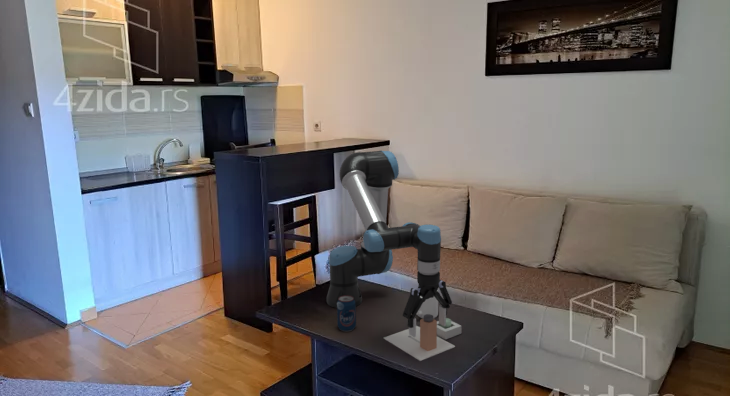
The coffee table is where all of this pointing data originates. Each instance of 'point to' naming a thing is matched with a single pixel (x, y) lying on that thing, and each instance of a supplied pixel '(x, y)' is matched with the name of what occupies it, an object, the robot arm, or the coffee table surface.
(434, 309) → the mug
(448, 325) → the button
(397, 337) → the paper
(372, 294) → the coffee table surface
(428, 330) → the block with dark dome
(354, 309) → the soda can
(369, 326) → the coffee table surface
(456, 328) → the button housing
